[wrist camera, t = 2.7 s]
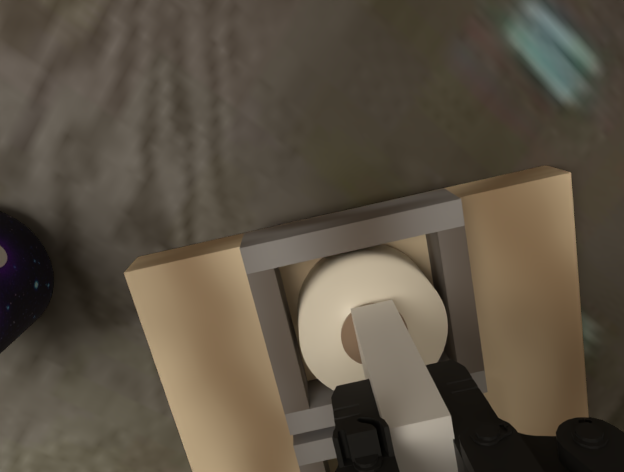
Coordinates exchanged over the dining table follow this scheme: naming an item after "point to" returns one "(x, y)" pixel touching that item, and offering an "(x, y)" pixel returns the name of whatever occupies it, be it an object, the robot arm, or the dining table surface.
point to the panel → (347, 237)
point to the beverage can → (21, 279)
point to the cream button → (359, 292)
